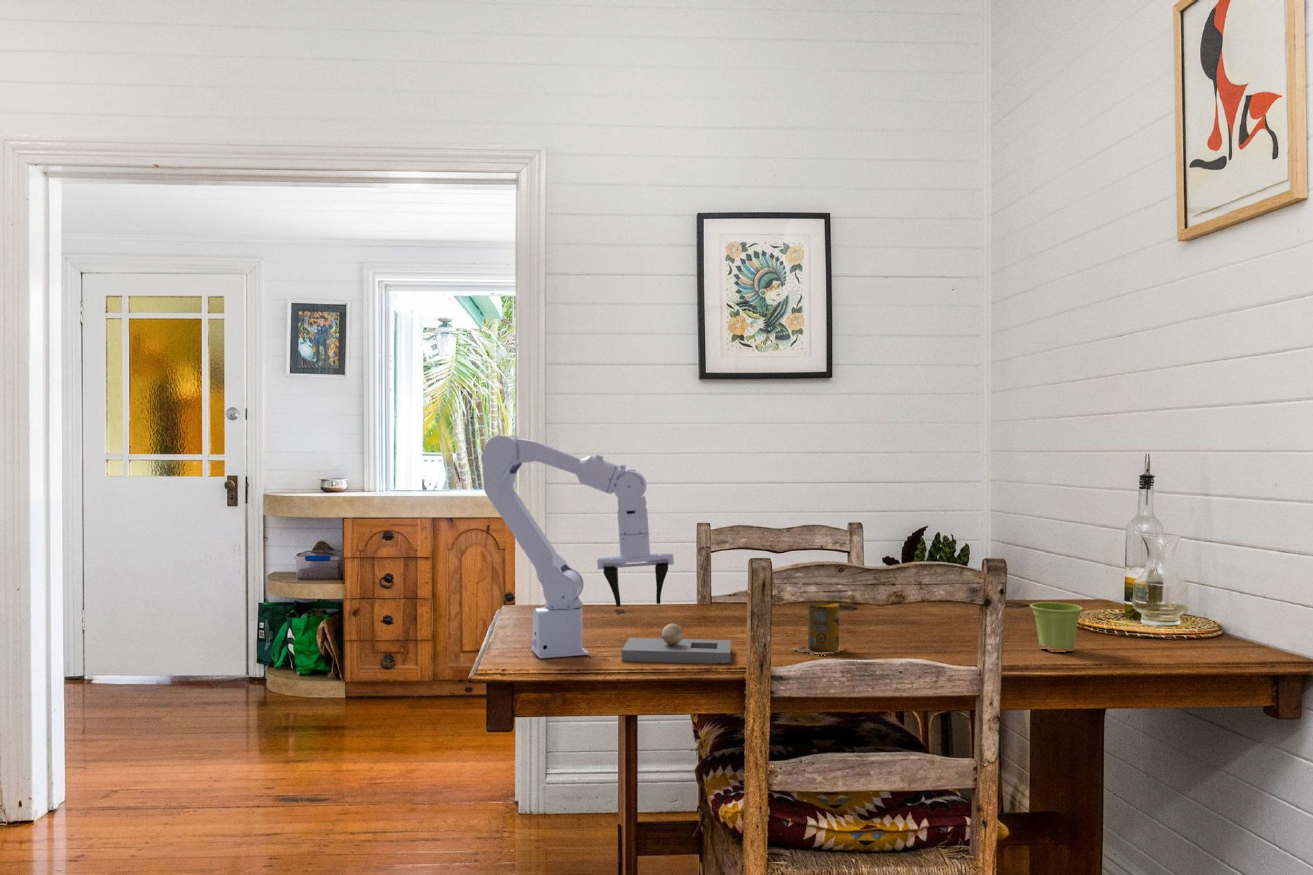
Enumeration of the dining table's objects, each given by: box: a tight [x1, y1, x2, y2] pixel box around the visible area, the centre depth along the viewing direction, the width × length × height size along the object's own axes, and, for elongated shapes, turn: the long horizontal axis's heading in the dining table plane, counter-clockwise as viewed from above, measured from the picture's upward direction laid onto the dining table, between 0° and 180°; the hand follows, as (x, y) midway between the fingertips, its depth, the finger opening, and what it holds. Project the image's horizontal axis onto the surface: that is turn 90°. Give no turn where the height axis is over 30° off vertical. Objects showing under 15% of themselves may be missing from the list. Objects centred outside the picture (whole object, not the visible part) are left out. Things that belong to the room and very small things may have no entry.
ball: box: [661, 623, 684, 645], centre depth 171 cm, size 4×4×4 cm
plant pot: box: [1029, 601, 1083, 649], centre depth 177 cm, size 9×9×9 cm
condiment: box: [792, 603, 840, 657], centre depth 176 cm, size 7×8×12 cm
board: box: [621, 637, 732, 665], centre depth 171 cm, size 20×11×2 cm, turn 85°
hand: (638, 604), depth 172 cm, fingers open, 7 cm apart
